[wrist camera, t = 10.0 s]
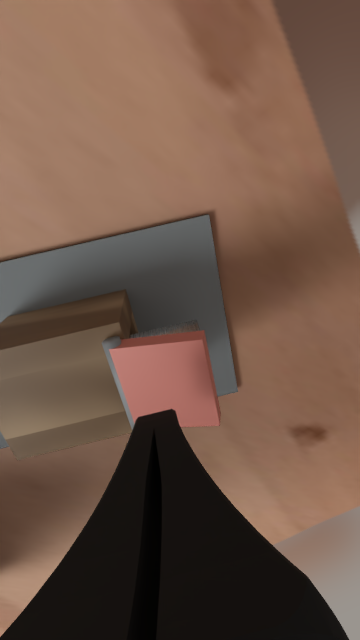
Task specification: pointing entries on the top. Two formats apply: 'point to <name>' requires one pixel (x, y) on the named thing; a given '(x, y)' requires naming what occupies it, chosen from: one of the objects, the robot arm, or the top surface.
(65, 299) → the mat
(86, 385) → the block
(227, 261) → the top surface
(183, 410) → the strip
